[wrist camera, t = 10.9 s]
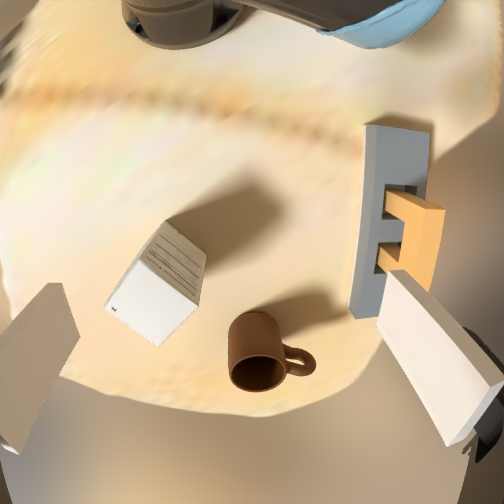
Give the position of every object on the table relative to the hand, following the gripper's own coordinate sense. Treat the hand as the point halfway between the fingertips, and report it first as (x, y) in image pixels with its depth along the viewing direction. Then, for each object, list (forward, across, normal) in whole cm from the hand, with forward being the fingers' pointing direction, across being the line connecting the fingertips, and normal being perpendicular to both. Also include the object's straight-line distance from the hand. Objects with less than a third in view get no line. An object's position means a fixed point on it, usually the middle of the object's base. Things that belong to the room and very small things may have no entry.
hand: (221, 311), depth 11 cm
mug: (+27, +5, -22) cm, 35 cm away
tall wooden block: (+26, +21, -5) cm, 34 cm away
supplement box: (+27, -8, -9) cm, 29 cm away
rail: (+27, +21, -5) cm, 34 cm away
